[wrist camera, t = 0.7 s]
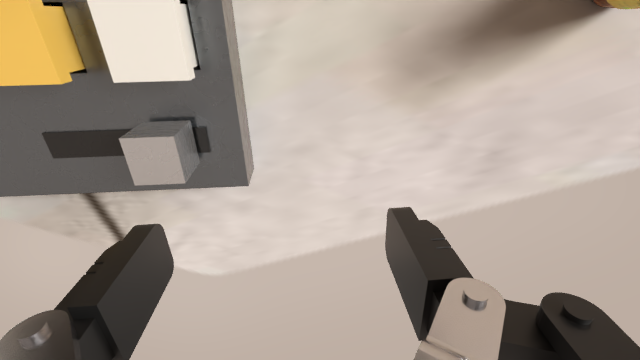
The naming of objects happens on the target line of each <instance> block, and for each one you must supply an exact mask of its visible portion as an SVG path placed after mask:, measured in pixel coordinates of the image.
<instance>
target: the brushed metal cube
mask: <svg viewBox="0 0 640 360" xmlns="http://www.w3.org/2000/svg"><path fill="white" fill-rule="evenodd" d="M119 141H120V144H121V147H122V150H123V152H124V155H125V158H126V161H127V164H128V167H129V170H130V173H131V176H132V179H133V181H134V184H135V186H137V185H160V184H183V183H186V182H187V181H188V179H189V178H190V176H191V175H192V173H193V172H194V170H195V169H196V167H197V166H198V164H199V163H200V162H199V157H198V153H197V148H196V144H195V139H194V135H193V130H192V126H191V121H190V120H187V121H158V122H142V123H141V124H139V125H138V126H136V127H135V128H133V129H132V130H130V131H129V132H127V133H126V134H125V135H123V136H122V137H120V138H119Z"/></svg>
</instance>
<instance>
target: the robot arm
mask: <svg viewBox="0 0 640 360" xmlns="http://www.w3.org/2000/svg"><path fill="white" fill-rule="evenodd" d="M385 247H386V255H387V260H388V262H389V264H390V268H391V270H392V273H393V275H394V278H395V281H396V283H397V285H398V288H399V291H400V293H401V296H402V299H403V301H404V304H405V306H406V309H407V312H408V314H409V317H410V319H411V322H412V324H413V327H414V330H415V332H416V335H417V337H418V339H419V341H421V340H422V342H421V344H420V346H419V348H418V351H417V353H416V356H415V358H414V360H640V347H639V346H638V345H637V344H636V343H634V341H632V339H631V338H630V337H629V336H627V335H626V333H624V331H623V330H622V329H621V328H619V326H618V325H617V324H615V322H614V321H612V319H611V318H610V317H609V316H608V315H606V314H605V313H604V312H603V311H602V310H601V309H599V308H598V307H597V306H595V305H594V304H592V303H591V302H589V301H587V300H585V299H582V298H580V297H577V296H574V295H571V294H567V293H550V294H548V295H546V296H545V297H543V299H542V301H541V304H540V306H537V305H531V304H526V303H519V302H514V301H509V300H505V299H503V297H502V295H501V294H500V293H499V292H498V291H497V290H496V289H494V288H493V287H492V286H490V285H489V284H487V283H485V282H483V281H480V280H477V279H474V278H473V277H472V275H471V274H470V273H469V271H468V270H467V268H466V267H465V265H464V264H463V263H462V261H461V260H460V259H459V257H458V255H457V254H456V253H455V251H454V250H453V249H452V248H451V245H450V244H449V243H448V241H447V240H445V237H444V236H443V234H442V233H441V231H440V230H439V229H438V228H437V227H436V226H435V225H433V224H432V223H430V222H429V221H427V220H418V218H417V216H416V215H415V213H414V212H413V210H412V209H411V208H410V207H403V208H389V209H388V213H387V226H386V242H385ZM173 268H174V262H173V257H172V254H171V251H170V248H169V245H168V241H167V238H166V235H165V232H164V229H163V227H162V226H161V225H160V224H148V225H136V226H134V227H133V228H132V229H131V230H130V232H129V233H128V234H127V235H126V237H125V238H124V239H123V240H122V241H118V242H117V243H116V244H114V245H113V246H111V247H110V248H108V249H107V250H106V251H104V252H103V254H102V255H101V256H100V257H99V258H98V260H96V262H95V264H94V265H92V266H91V267H90V269H89V270H88V271H87V272H86V275H83V277H82V278H81V279H80V280H79V282H77V283H76V285H75V286H74V287H73V288H72V289H71V290H70V292H69V293H68V294H67V295H66V296H65V297H64V298H63V300H62V301H61V302H60V303H59V304H58V305H57V307H56V308H55V309H54V310H50V311H45V312H42V313H39V314H36V315H34V316H32V317H30V318H28V319H26V320H24V321H22V322H21V323H19V324H18V325H16V326H15V327H13V328H12V329H11V330H10V331H9V332H8V333H6V335H4V337H3V338H2V339H1V340H0V360H129V359H130V357H131V355H132V353H133V351H134V349H135V347H136V345H137V343H138V341H139V339H140V337H141V335H142V333H143V331H144V329H145V328H146V325H147V323H148V322H149V320H150V318H151V316H152V314H153V312H154V309H155V308H156V306H157V304H158V302H159V300H160V298H161V296H162V294H163V292H164V290H165V288H166V286H167V284H168V282H169V280H170V278H171V276H172V274H173Z"/></svg>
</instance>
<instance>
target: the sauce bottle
mask: <svg viewBox="0 0 640 360" xmlns="http://www.w3.org/2000/svg"><path fill="white" fill-rule="evenodd" d="M593 1H594V2H595V3H596V4H597V5H599V6H601V7H612V8H618V9H636V8H640V0H593Z"/></svg>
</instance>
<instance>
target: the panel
mask: <svg viewBox="0 0 640 360" xmlns="http://www.w3.org/2000/svg"><path fill="white" fill-rule="evenodd" d="M180 2H188V7H189V12H190V17H191V22H192V28H193V33H194V38H195V43H196V48H197V54H198V59H199V64H200V65H198V66H196V67H194V68H193V69H194V74H195V78H194V79H192V80H189V81H155V82H121V83H114V82H113V79H112V76H111V73H110V70H109V67H108V64H107V61H106V58H105V55H104V52H103V48H102V45H101V42H100V39H99V36H98V33H97V30H96V27H95V24H94V21H93V18H92V14H91V11H90V8H89V5H88V2H87V0H42V3H43V4H63V6H64V9H65V12H66V14H67V17H68V20H69V23H70V26H71V28H72V31H73V34H74V37H75V40H76V42H77V45H78V48H79V51H80V54H81V56H82V59H83V62H84V65H85V68H86V69H82V70H78V71H74V72H70V76H71V78H72V81H71V82H68V83H64V84H53V85H19V86H0V197H5V196H28V195H51V194H74V193H97V192H120V191H143V190H166V189H189V188H212V187H235V186H249V183H250V179H251V176H252V173H253V169H254V165H253V158H252V150H251V143H250V135H249V128H248V120H247V113H246V105H245V98H244V90H243V83H242V75H241V68H240V60H239V53H238V45H237V38H236V30H235V22H234V15H233V7H232V0H180ZM187 120H190V121H191V126H192V130H193V135H194V139H195V144H196V148H197V153H198V157H199V162H200V163H199V164H198V166H197V167H196V169H195V170H194V172H193V173H192V175H191V176H190V178H189V179H188V181H187V182H186V183H183V184H160V185H137V186H135V184H134V181H133V179H132V176H131V173H130V170H129V167H128V164H127V161H126V158H125V155H124V152H123V150H122V147H121V144H120V141H119V138H120V137H122V136H123V135H125V134H126V133H127V132H129V131H130V130H132V129H133V128H135V127H136V126H138V125H139V124H141V123H142V122H158V121H187Z"/></svg>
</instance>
